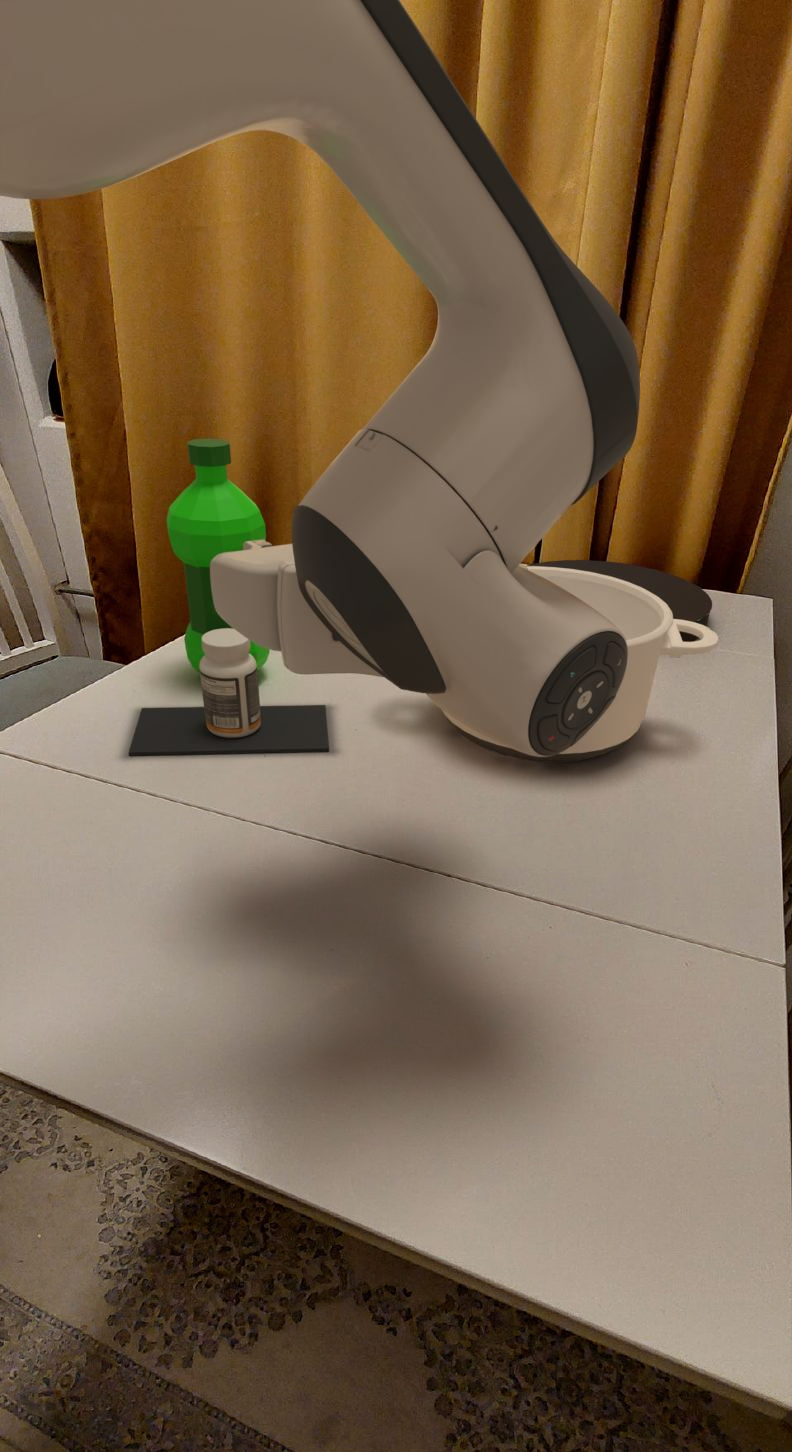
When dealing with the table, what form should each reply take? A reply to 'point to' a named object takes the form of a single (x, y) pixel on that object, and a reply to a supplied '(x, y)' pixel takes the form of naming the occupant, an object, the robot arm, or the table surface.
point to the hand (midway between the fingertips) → (312, 543)
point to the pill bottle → (229, 684)
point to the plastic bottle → (210, 537)
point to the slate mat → (191, 736)
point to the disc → (652, 587)
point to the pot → (646, 638)
